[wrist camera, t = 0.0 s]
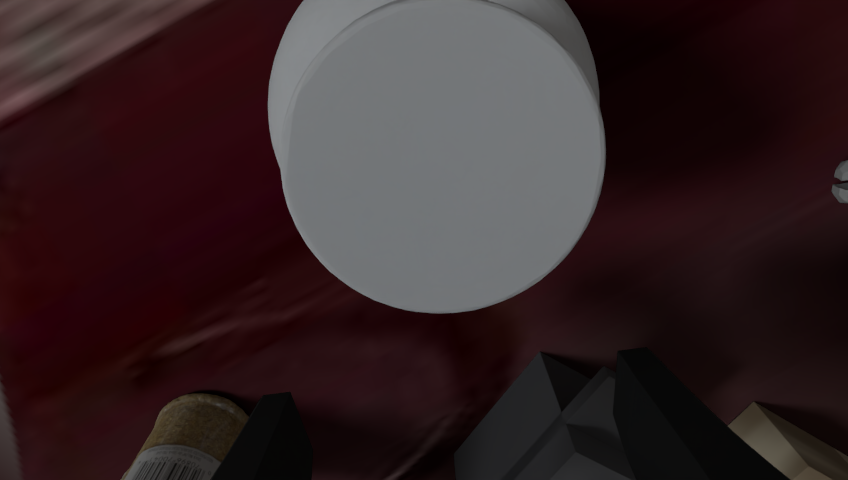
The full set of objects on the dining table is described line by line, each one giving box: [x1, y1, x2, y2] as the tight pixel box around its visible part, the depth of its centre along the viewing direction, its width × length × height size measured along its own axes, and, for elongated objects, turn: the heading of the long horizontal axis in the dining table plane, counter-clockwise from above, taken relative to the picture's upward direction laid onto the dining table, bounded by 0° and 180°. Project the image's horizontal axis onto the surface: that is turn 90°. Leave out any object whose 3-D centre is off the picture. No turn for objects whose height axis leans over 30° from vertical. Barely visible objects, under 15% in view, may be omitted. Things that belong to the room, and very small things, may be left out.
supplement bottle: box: [268, 0, 606, 313], centre depth 14 cm, size 7×7×13 cm
